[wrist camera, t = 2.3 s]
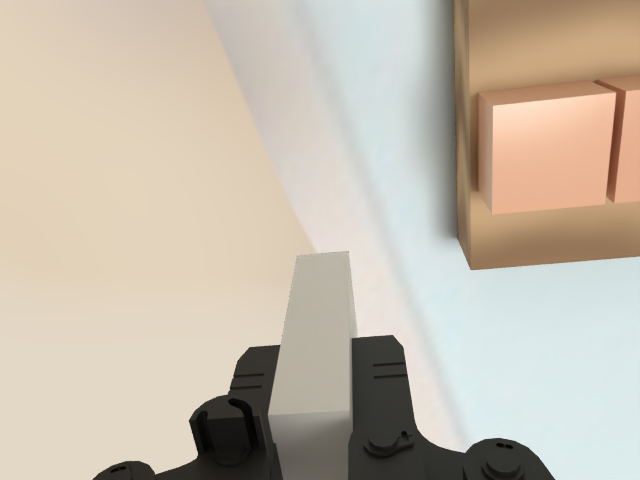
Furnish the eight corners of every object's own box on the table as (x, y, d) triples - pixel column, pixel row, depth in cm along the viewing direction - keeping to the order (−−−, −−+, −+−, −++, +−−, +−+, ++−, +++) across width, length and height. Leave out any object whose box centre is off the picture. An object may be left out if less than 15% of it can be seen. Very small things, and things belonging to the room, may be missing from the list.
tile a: (478, 92, 26) (493, 105, 24) (587, 80, 26) (616, 92, 23) (478, 191, 28) (491, 214, 26) (580, 182, 28) (605, 204, 25)
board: (453, -13, 28) (468, -11, 24) (683, -42, 27) (735, -45, 23) (457, 239, 34) (470, 270, 30) (647, 222, 33) (684, 252, 29)
